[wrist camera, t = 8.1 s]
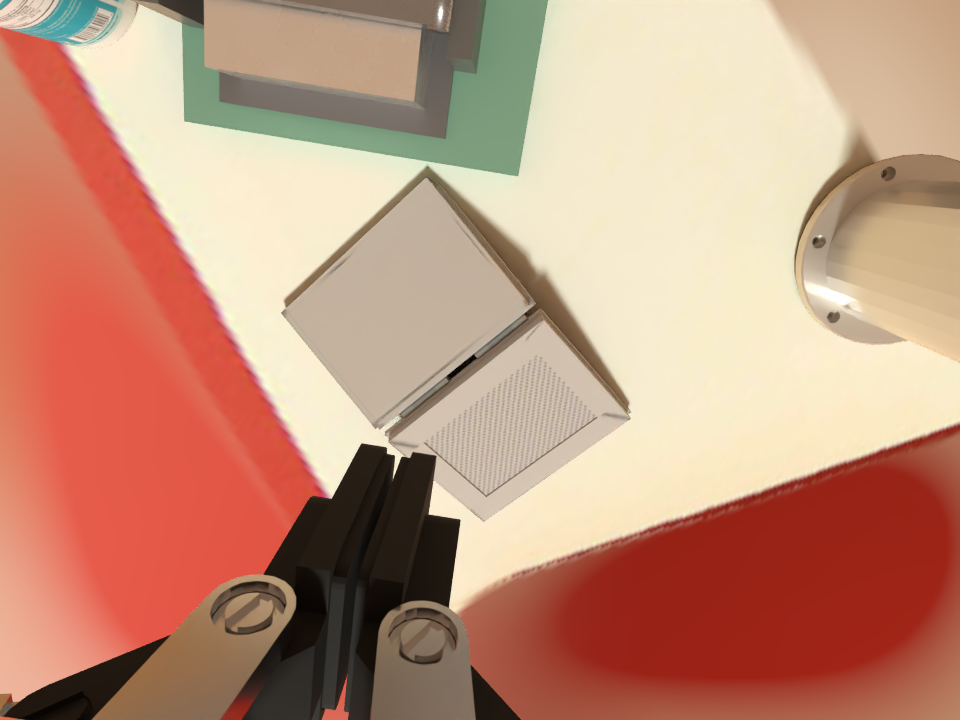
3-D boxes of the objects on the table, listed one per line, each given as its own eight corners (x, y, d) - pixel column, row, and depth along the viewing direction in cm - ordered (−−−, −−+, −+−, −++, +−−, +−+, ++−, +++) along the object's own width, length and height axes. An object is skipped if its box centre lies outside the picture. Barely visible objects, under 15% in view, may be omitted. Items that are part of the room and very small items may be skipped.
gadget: (285, 310, 42) (265, 323, 38) (432, 172, 38) (424, 172, 35) (483, 511, 47) (481, 539, 43) (629, 408, 43) (640, 429, 40)
